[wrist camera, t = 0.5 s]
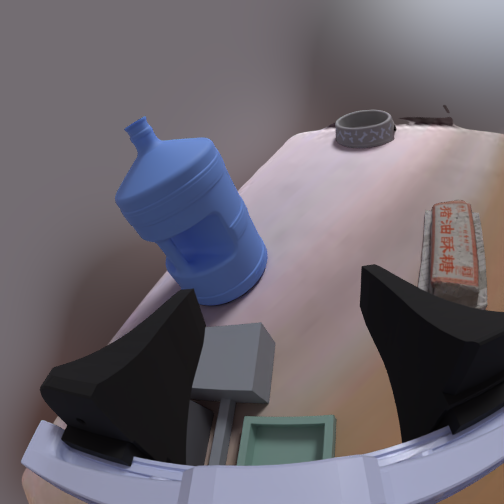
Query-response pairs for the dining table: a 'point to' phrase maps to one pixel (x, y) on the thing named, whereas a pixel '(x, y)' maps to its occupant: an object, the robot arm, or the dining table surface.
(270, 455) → the tray
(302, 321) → the dining table surface
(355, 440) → the dining table surface
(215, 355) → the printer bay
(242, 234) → the water jug
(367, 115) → the dog bowl
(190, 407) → the grey block orange panel
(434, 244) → the packaged product
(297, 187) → the dining table surface
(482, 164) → the dining table surface
